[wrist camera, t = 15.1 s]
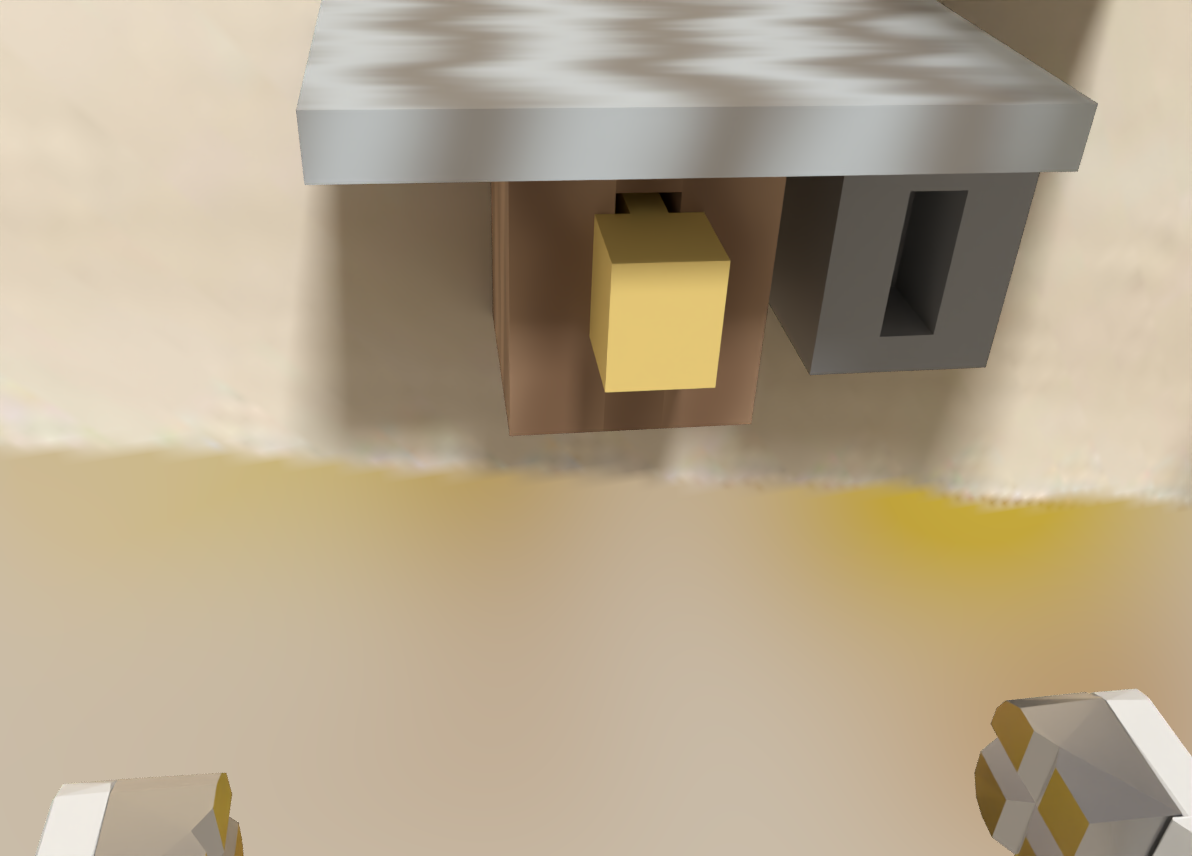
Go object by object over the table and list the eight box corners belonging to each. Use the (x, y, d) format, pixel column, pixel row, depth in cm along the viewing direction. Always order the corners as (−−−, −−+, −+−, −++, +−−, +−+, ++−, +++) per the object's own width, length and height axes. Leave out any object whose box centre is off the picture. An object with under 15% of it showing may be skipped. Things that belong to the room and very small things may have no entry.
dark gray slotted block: (961, 82, 49) (1047, 146, 43) (916, 283, 55) (985, 367, 49) (788, 83, 48) (849, 149, 42) (760, 288, 54) (809, 374, 47)
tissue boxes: (875, -39, 46) (1097, 103, 31) (816, 304, 55) (967, 539, 40) (331, -45, 43) (296, 110, 28) (364, 320, 52) (349, 580, 37)
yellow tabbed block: (681, 170, 43) (730, 260, 37) (671, 285, 46) (715, 387, 40) (579, 172, 43) (612, 263, 36) (576, 287, 46) (605, 392, 39)
